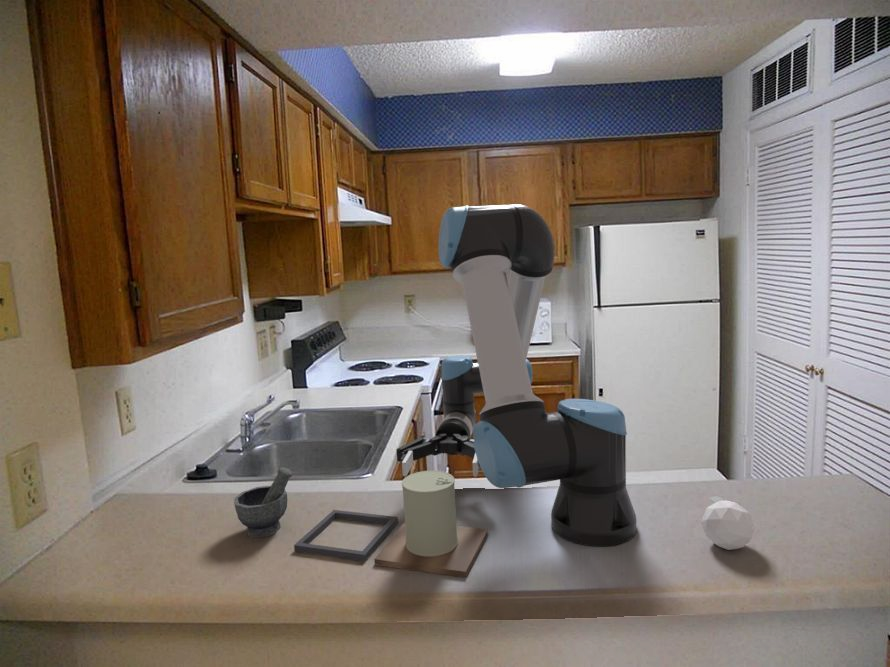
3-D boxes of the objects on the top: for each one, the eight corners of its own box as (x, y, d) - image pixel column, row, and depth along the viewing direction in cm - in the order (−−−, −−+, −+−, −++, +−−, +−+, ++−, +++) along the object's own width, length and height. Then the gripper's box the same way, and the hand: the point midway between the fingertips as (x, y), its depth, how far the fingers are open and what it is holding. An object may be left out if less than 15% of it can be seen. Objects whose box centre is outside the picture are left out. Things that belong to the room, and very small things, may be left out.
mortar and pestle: (232, 544, 105) (224, 483, 103) (243, 521, 114) (236, 464, 112) (294, 537, 106) (288, 476, 104) (300, 514, 115) (294, 458, 113)
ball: (720, 565, 94) (693, 533, 93) (717, 528, 101) (692, 497, 99) (766, 555, 90) (739, 520, 89) (760, 516, 97) (735, 484, 95)
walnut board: (487, 534, 103) (487, 529, 103) (465, 577, 90) (465, 571, 90) (406, 525, 108) (406, 520, 108) (374, 564, 95) (374, 559, 95)
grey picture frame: (398, 522, 109) (397, 516, 109) (365, 561, 96) (364, 554, 96) (334, 515, 114) (333, 509, 114) (294, 551, 101) (293, 545, 101)
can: (452, 558, 94) (448, 490, 92) (399, 555, 96) (394, 488, 94) (462, 531, 103) (459, 468, 101) (413, 528, 105) (409, 466, 103)
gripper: (510, 449, 127) (505, 488, 106) (401, 449, 131) (376, 487, 110) (508, 417, 126) (504, 450, 105) (399, 418, 130) (374, 450, 109)
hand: (439, 469), depth 107 cm, fingers open, 13 cm apart
